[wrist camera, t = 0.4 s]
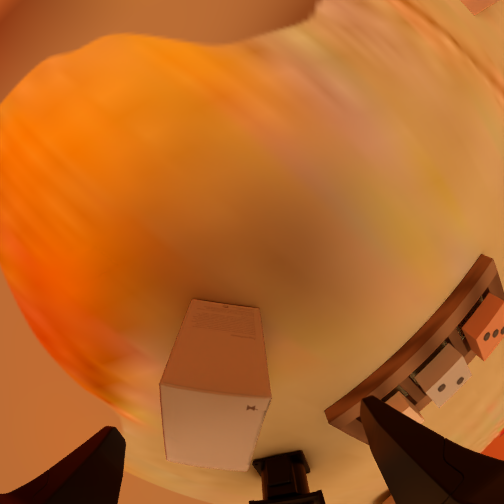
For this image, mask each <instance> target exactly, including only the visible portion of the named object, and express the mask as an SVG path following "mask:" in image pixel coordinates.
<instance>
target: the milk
mask: <svg viewBox="0 0 504 504" xmlns="http://www.w3.org/2000/svg"><path fill="white" fill-rule="evenodd" d="M460 1H461V2H462V3H463V4H464V5H465V6H466V7H467V8H468V10H469V11H470V12H471V13H472V14H473V15H474V16H475V15H476V14H478V13H479V12H481V11H483V10H484V9H486V8H488V7H489V6H491V5H493V4H494V3H496V2H498V1H499V0H460Z"/></svg>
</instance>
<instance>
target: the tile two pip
mask: <svg viewBox="0 0 504 504" xmlns="http://www.w3.org/2000/svg"><path fill="white" fill-rule="evenodd" d="M471 376H472V374H471V372H470V370H469V368H468V366H467V363H466V361H465V359H464V357H463V355H462V354H460V353H459V352H458V351H457V350H456V349H455V348H454V347H453V346H452V345H451V344H449V343H448V344H447V345H446V346H445V347H444V348H443V349H442V351H441V352H440V353H439V354H438V355H437V356H436V357H435V358H434V359H433V360H432V361H431V362H430V363H429V364H428V365H427V366H426V367H425V368H424V369H423V370H422V371H421V372H419V373H418V374H417V375H416V376H415V377H414V378H415V380H416V381H417V382H418V383H419V385H420V386H421V387H422V389H423V390H424V391H425V393H426V394H427V395H428V396H429V397H430V398H431V399H432V401H433V402H434V403H435V404H436V405H437V406H438V407H439V408H440V407H441V406H442V405H443V404H444V403H445V402H446V401H447V400H448V399H449V398H450V397H452V396H453V395H454V394H455V393H456V392H457V391H458V390H459V389H460V388H461V387H462V386H463V384H464V383H465V382H466V381H467V380H468V379H469V378H470V377H471Z"/></svg>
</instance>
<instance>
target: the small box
mask: <svg viewBox="0 0 504 504" xmlns="http://www.w3.org/2000/svg"><path fill="white" fill-rule="evenodd" d="M159 386H160V402H161V414H162V425H163V435H164V444H165V452H166V460H167V461H171V462H175V463H180V464H186V465H192V466H198V467H205V468H213V469H221V470H232V471H248V470H249V467H250V462H251V458H252V455H253V452H254V449H255V446H256V442H257V439H258V436H259V433H260V430H261V427H262V423H263V421H264V418H265V415H266V412H267V410H268V407H269V405H270V402H271V399H272V396H271V390H270V382H269V375H268V368H267V359H266V351H265V343H264V336H263V329H262V322H261V315H260V309H259V308H252V307H244V306H237V305H229V304H222V303H216V302H209V301H203V300H196V299H192V300H191V303H190V305H189V308H188V310H187V313H186V315H185V318H184V320H183V323H182V325H181V328H180V331H179V333H178V336H177V338H176V341H175V343H174V346H173V349H172V351H171V354H170V357H169V360H168V362H167V365H166V367H165V370H164V373H163V376H162V378H161V381H160V383H159Z"/></svg>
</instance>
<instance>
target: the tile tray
mask: <svg viewBox="0 0 504 504" xmlns="http://www.w3.org/2000/svg"><path fill="white" fill-rule="evenodd" d="M488 293H491V294H493V295H494V296H496V297H498V298H500V299H502V300H503V301H504V291H503V288H502V284H501V281H500V278H499V275H498V271H497V268H496V265H495V263H494V260H493V259H492V258H490V257H487V256H485V255H482V254H481V255H480V257H479V258H478V260H477V261H476V262H475V264H474V265H473V267H472V268H471V269H470V271H469V272H468V273H467V275H466V276H465V277H464V279H463V280H462V281H461V283H460V284H459V285H458V286H457V288H456V289H455V290H454V291H453V293H452V294H451V295H450V296H449V297H448V299H447V300H446V301H445V302H444V303H443V304H442V306H441V307H440V308H439V309H438V310H437V311H436V312H435V314H434V315H433V316H432V317H431V318H430V319H429V320H428V321H427V322H426V323H425V324H424V326H423V327H422V328H421V329H420V330H419V331H418V332H417V333H416V334H415V335H414V336H413V337H412V338H411V339H410V340H409V341H408V342H407V343H406V344H405V345H404V346H403V347H402V348H401V349H400V350H399V351H398V352H396V353H395V354H394V355H393V356H392V357H391V358H390V359H389V360H388V361H387V362H386V363H384V364H383V365H382V366H381V367H380V368H379V369H378V370H376V371H375V372H374V373H373V374H372V375H371V376H369V377H368V378H367V379H366V380H365V381H363V382H362V383H361V384H360V385H358V386H357V387H356V388H355V389H353V390H352V391H351V392H349V393H348V394H347V395H346V396H344V397H343V398H342V399H340V400H339V401H338V402H336V403H335V404H333V405H332V406H331V407H329V408H328V409H326V410H325V414H326V417H327V420H328V423H329V424H330V425H332V426H334V427H336V428H338V429H339V430H341V431H343V432H345V433H347V434H348V435H350V436H352V437H354V438H356V439H358V440H360V441H362V442H364V443H366V444H368V445H369V443H368V440H367V436H366V433H365V430H364V427H363V424H362V421H361V418H360V405H361V399H362V398H364V397H367V396H370V395H373V396H375V397H377V398H378V399H380V400H381V399H382V398H383V397H385V396H386V395H387V394H388V393H390V392H391V391H392V390H393V389H394V388H395V387H397V386H398V385H400V386H401V387H402V388H403V389H404V390H405V391H406V392H407V393H408V394H409V395H408V396H406V398H407V399H408V400H409V401H410V402H411V403H412V404H413V405H414V406H415V407H416V408H417V410H418V411H421V410H422V409H423V408H424V407H425V406H426V405H428V404H429V403H430V402H431V401H432V399H431V398H430V397H429V396H428V395H427V394H426V393H425V391H424V390H423V389H422V387H421V386H420V385H419V386H417V384H416V383H415V382H414V381H413V380H412V379H411V378H410V377H409V375H410V374H411V373H412V372H413V371H414V370H416V369H417V368H418V367H419V366H420V365H421V364H422V363H423V362H424V361H425V360H426V359H427V358H428V357H429V356H430V355H431V354H432V353H433V352H434V351H435V350H436V349H437V348H438V347H439V346H440V345H441V343H442V342H443V341H444V340H446V342H447V344H448V343H449V344H451V345H452V346H453V347H454V348H455V349H456V350H457V351H458V352H459V353H460V354H462V355H463V357H464V359H465V361H466V363H467V365H468V364H469V363H470V362H471V361H472V359H473V358H474V357H475V356H476V354H475V353H474V352H473V351H472V350H471V348H470V346H469V343H468V341H467V339H466V337H465V339H464V340H463V341H462V339H461V337H460V335H459V333H458V331H457V329H456V327H457V326H458V324H459V323H460V322H461V321H462V320H463V318H464V317H465V316H466V315H467V313H468V312H469V311H470V310H471V308H472V307H473V306H474V305H475V303H476V302H477V301H478V299H479V298H480V297H481V295H482V296H483V298H484V299H485V298H486V296H487V295H488Z"/></svg>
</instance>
